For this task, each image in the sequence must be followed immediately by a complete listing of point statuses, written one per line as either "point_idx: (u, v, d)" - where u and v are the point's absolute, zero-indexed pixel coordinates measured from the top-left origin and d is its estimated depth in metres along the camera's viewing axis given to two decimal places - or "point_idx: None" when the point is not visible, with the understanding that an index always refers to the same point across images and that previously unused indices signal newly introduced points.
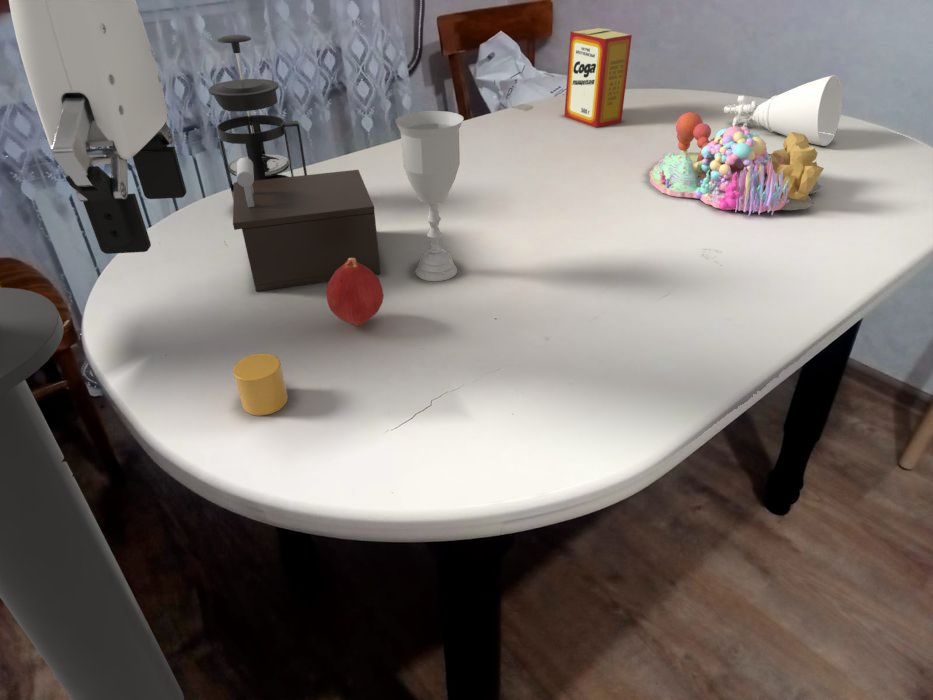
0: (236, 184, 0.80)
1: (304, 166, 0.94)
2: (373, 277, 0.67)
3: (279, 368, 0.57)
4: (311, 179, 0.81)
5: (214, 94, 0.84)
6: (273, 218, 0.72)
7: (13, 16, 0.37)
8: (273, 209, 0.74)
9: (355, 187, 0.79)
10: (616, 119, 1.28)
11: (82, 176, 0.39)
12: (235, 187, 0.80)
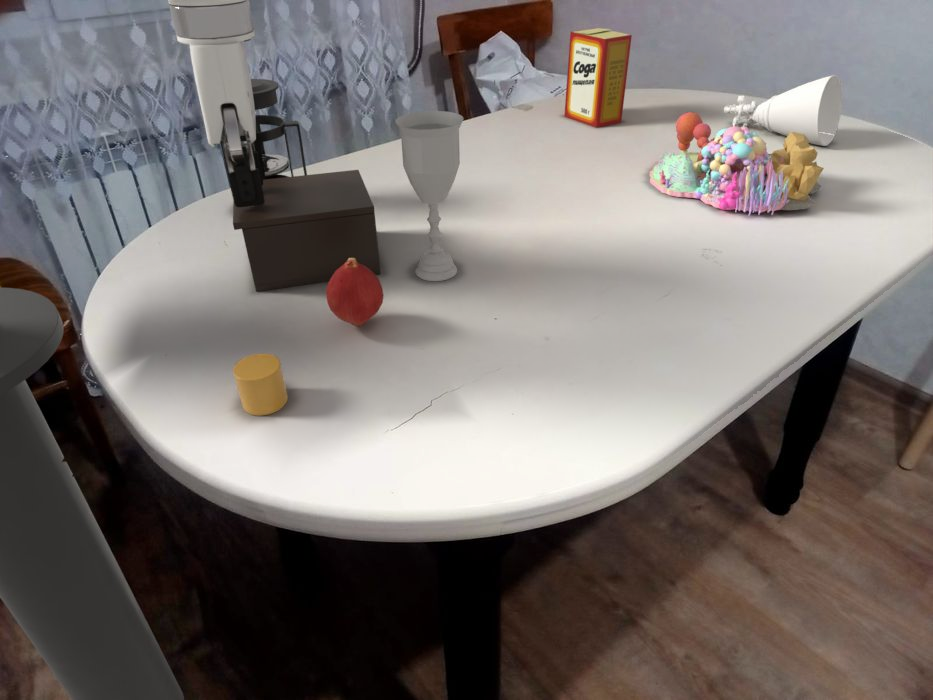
0: None
1: (304, 166, 0.94)
2: (373, 277, 0.67)
3: (279, 368, 0.57)
4: (311, 179, 0.81)
5: None
6: (273, 218, 0.72)
7: (195, 59, 0.63)
8: (273, 209, 0.74)
9: (355, 187, 0.79)
10: (616, 119, 1.28)
11: (241, 160, 0.68)
12: None
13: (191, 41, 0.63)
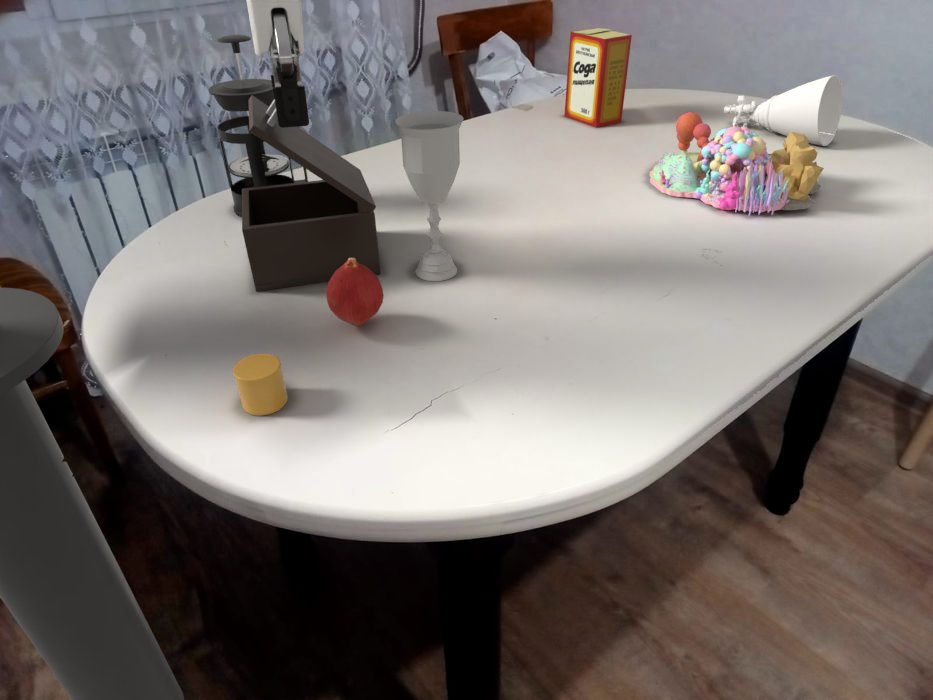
0: (254, 98, 0.76)
1: None
2: (373, 277, 0.67)
3: (279, 368, 0.57)
4: (322, 147, 0.79)
5: (214, 94, 0.84)
6: (290, 149, 0.68)
7: None
8: (290, 143, 0.70)
9: (359, 181, 0.79)
10: (616, 119, 1.28)
11: (290, 71, 0.65)
12: (253, 99, 0.75)
13: None
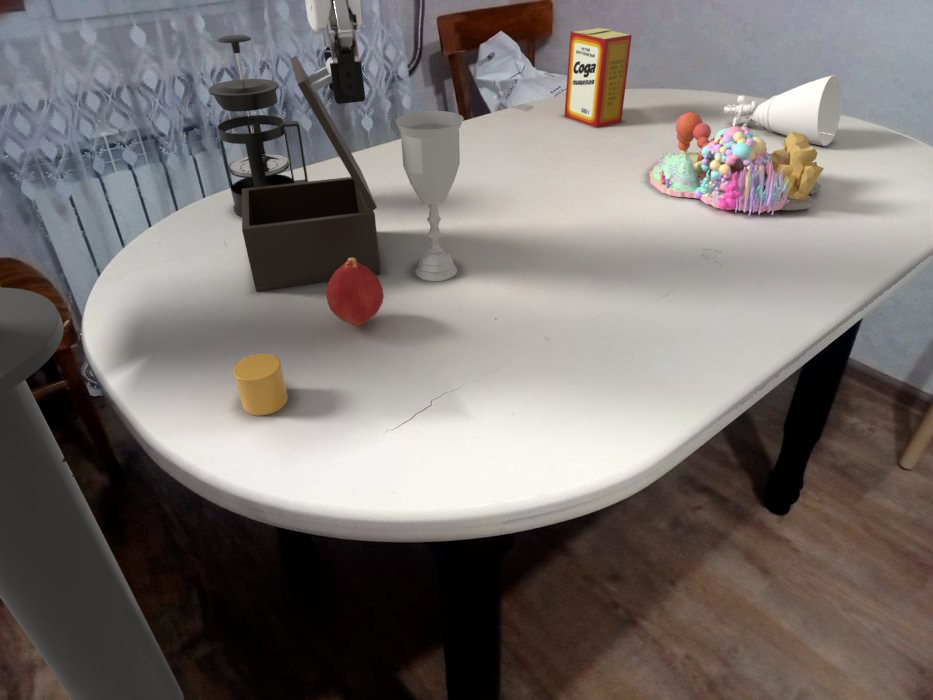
0: None
1: (304, 166, 0.94)
2: (373, 277, 0.67)
3: (279, 368, 0.57)
4: (339, 133, 0.79)
5: (214, 94, 0.84)
6: (326, 119, 0.68)
7: None
8: (325, 114, 0.70)
9: (363, 179, 0.79)
10: (616, 119, 1.28)
11: (348, 46, 0.65)
12: (298, 60, 0.74)
13: None
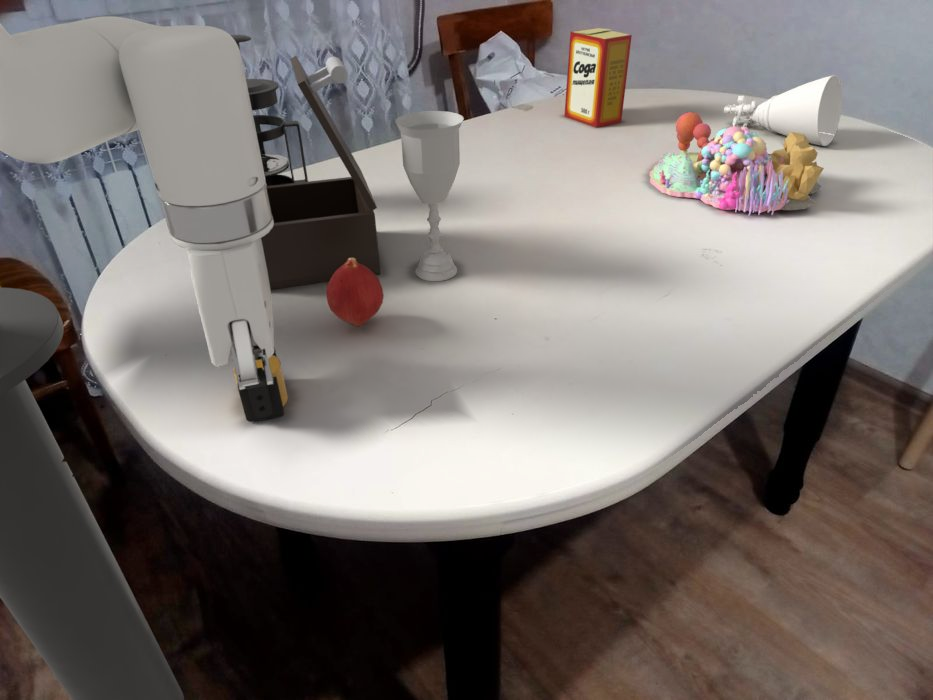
0: None
1: (304, 166, 0.94)
2: (373, 277, 0.67)
3: (279, 368, 0.57)
4: (339, 133, 0.79)
5: None
6: (326, 119, 0.68)
7: (194, 271, 0.47)
8: (325, 114, 0.70)
9: (363, 179, 0.79)
10: (616, 119, 1.28)
11: None
12: (298, 60, 0.74)
13: (189, 246, 0.47)
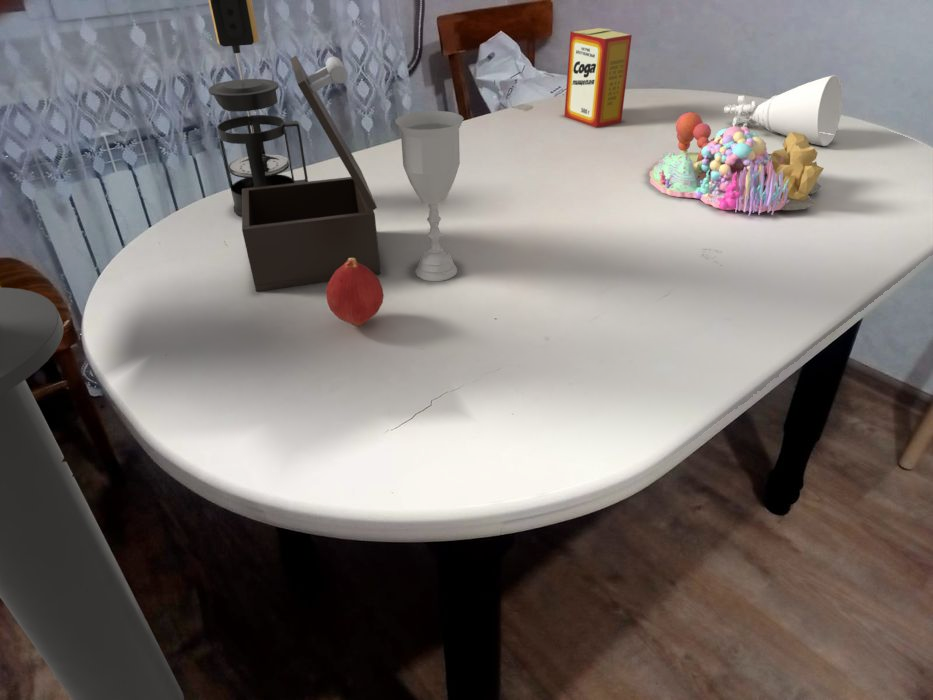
0: None
1: (304, 166, 0.94)
2: (373, 277, 0.67)
3: None
4: (339, 133, 0.79)
5: (214, 94, 0.84)
6: (326, 119, 0.68)
7: None
8: (325, 114, 0.70)
9: (363, 179, 0.79)
10: (616, 119, 1.28)
11: None
12: (298, 60, 0.74)
13: None
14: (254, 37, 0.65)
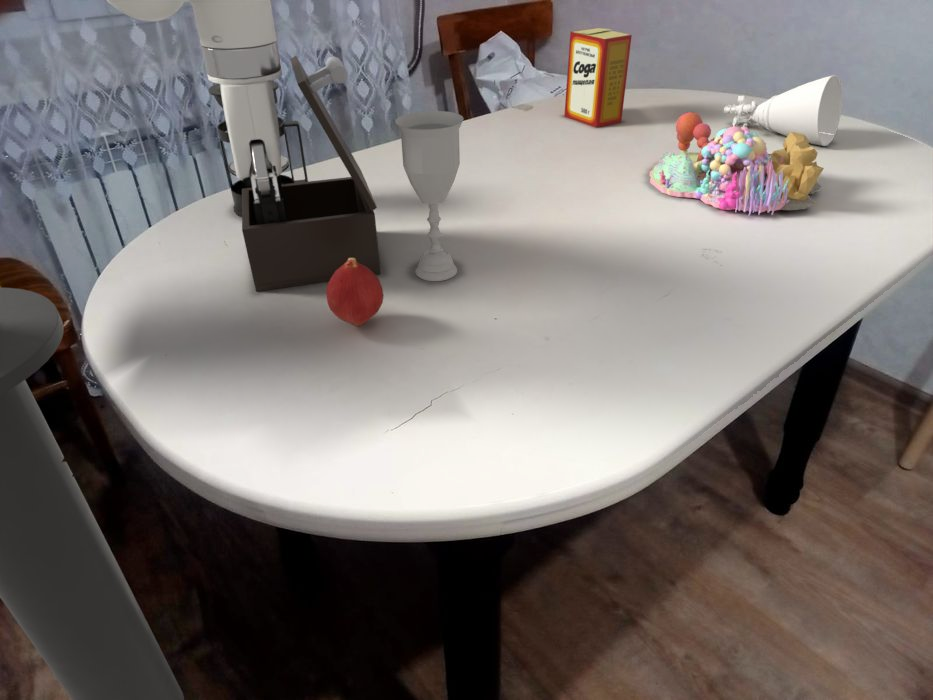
0: None
1: (304, 166, 0.94)
2: (373, 277, 0.67)
3: None
4: (339, 133, 0.79)
5: (214, 94, 0.84)
6: (326, 119, 0.68)
7: (226, 98, 0.66)
8: (325, 114, 0.70)
9: (363, 179, 0.79)
10: (616, 119, 1.28)
11: (267, 190, 0.69)
12: (298, 60, 0.74)
13: (222, 81, 0.66)
14: None
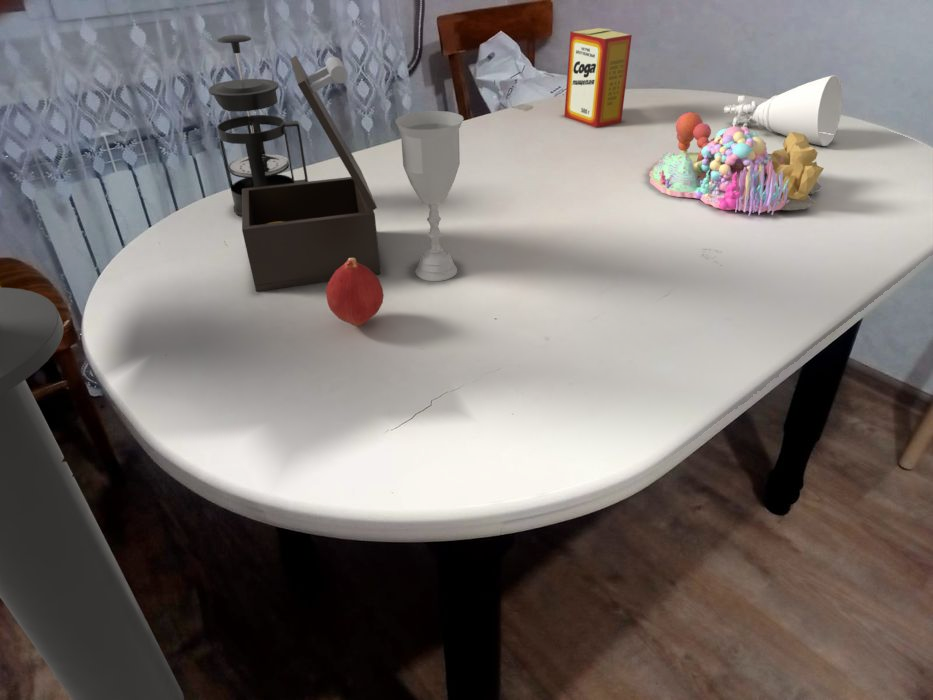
0: None
1: (304, 166, 0.94)
2: (373, 277, 0.67)
3: None
4: (339, 133, 0.79)
5: (214, 94, 0.84)
6: (326, 119, 0.68)
7: None
8: (325, 114, 0.70)
9: (363, 179, 0.79)
10: (616, 119, 1.28)
11: None
12: (298, 60, 0.74)
13: None
14: None
